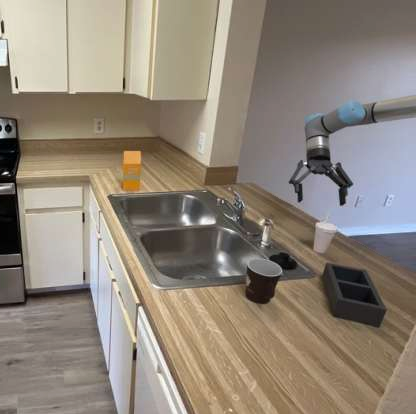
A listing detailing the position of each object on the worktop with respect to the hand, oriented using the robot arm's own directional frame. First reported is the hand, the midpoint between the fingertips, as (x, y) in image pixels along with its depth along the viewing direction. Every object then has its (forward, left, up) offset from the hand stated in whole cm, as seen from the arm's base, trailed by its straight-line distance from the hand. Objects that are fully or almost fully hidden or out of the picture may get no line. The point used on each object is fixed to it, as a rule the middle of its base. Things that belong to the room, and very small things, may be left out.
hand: (321, 202), depth 119 cm
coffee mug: (+18, +47, -15) cm, 52 cm away
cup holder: (-5, +37, -15) cm, 40 cm away
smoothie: (-2, +9, -15) cm, 17 cm away
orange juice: (+80, -26, -15) cm, 86 cm away
